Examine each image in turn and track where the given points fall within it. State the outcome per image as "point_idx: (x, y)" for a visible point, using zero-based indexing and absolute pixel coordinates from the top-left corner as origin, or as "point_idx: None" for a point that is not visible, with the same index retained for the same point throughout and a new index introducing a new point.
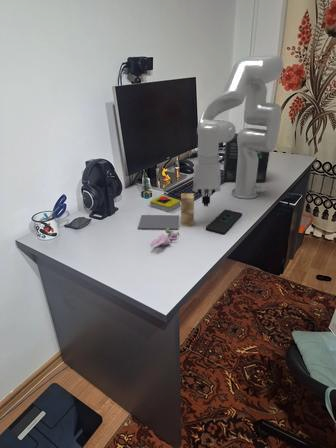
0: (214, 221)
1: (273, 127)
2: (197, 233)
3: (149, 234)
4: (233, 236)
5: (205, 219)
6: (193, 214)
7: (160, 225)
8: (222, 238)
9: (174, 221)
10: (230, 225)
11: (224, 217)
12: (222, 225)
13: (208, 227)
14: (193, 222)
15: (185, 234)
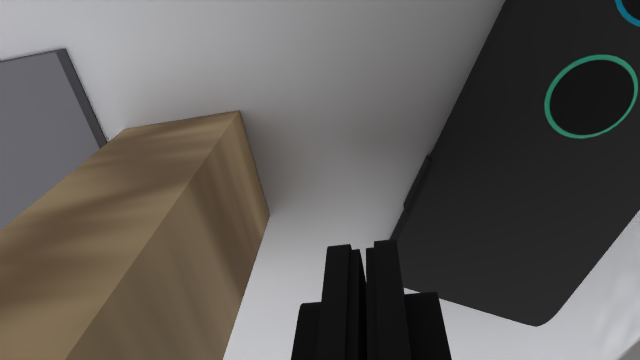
0: (468, 156)
1: None
2: None
3: None
4: (611, 319)
5: (362, 59)
6: (240, 296)
7: None
8: (517, 349)
9: None
10: (632, 211)
11: (604, 31)
12: (546, 223)
13: (409, 273)
14: (261, 236)
15: (244, 332)
